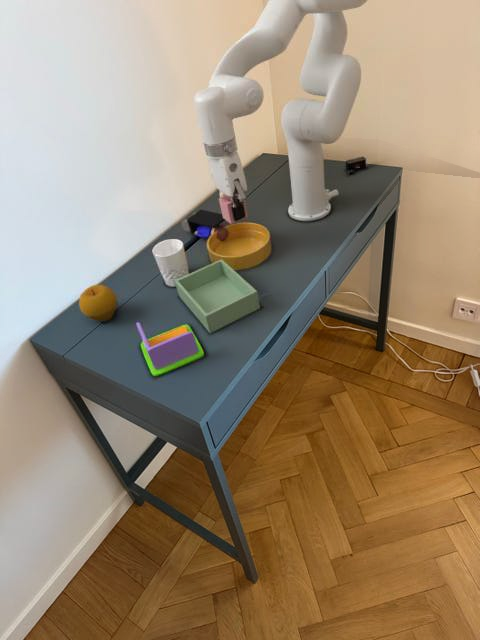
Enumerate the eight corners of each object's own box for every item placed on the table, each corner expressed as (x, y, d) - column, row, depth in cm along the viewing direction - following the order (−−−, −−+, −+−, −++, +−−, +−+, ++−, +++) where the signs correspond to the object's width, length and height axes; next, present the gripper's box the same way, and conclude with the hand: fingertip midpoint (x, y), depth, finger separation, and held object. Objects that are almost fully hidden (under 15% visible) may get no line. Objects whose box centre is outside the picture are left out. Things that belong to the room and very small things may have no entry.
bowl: (251, 229, 135) (249, 215, 132) (284, 253, 123) (282, 239, 120) (199, 252, 130) (196, 238, 127) (228, 279, 118) (225, 265, 115)
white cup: (196, 271, 123) (187, 239, 117) (184, 289, 118) (175, 257, 111) (170, 269, 126) (160, 238, 119) (158, 287, 121) (146, 255, 114)
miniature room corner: (153, 378, 96) (143, 355, 92) (139, 344, 105) (130, 322, 100) (206, 356, 98) (199, 333, 94) (188, 324, 107) (181, 302, 103)
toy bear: (239, 210, 122) (232, 175, 115) (247, 216, 119) (241, 180, 112) (221, 218, 120) (213, 183, 114) (229, 224, 117) (221, 188, 111)
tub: (225, 275, 120) (221, 259, 117) (260, 308, 108) (257, 291, 104) (179, 296, 116) (174, 280, 113) (210, 333, 104) (205, 316, 100)
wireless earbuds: (342, 170, 154) (342, 161, 152) (363, 165, 155) (363, 156, 153) (348, 176, 151) (348, 166, 149) (368, 170, 151) (369, 161, 149)
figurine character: (185, 240, 139) (220, 248, 129) (176, 218, 134) (212, 223, 125) (200, 230, 142) (235, 236, 133) (192, 207, 138) (228, 212, 128)
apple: (87, 312, 118) (73, 284, 112) (121, 301, 118) (109, 273, 113) (88, 333, 111) (73, 305, 105) (124, 322, 112) (111, 293, 106)
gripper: (252, 149, 102) (264, 221, 114) (217, 132, 114) (231, 199, 126) (223, 161, 100) (238, 233, 112) (191, 142, 112) (207, 209, 124)
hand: (234, 214), depth 119 cm, fingers closed on toy bear, 4 cm apart
